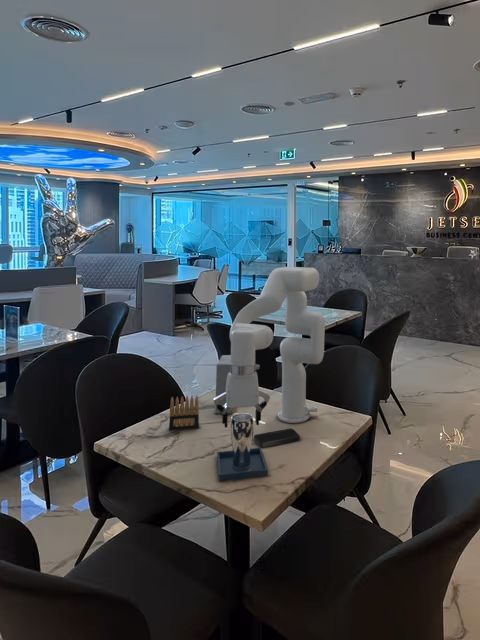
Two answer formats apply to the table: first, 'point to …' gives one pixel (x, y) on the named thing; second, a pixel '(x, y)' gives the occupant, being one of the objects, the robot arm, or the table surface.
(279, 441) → the phone
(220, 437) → the table surface
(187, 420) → the ammunition clip
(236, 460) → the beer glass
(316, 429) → the table surface
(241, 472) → the tray
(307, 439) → the table surface
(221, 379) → the hard drive box
